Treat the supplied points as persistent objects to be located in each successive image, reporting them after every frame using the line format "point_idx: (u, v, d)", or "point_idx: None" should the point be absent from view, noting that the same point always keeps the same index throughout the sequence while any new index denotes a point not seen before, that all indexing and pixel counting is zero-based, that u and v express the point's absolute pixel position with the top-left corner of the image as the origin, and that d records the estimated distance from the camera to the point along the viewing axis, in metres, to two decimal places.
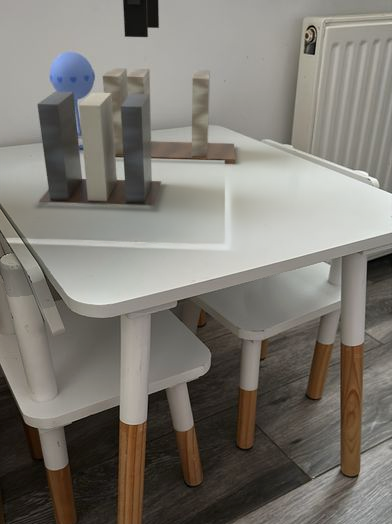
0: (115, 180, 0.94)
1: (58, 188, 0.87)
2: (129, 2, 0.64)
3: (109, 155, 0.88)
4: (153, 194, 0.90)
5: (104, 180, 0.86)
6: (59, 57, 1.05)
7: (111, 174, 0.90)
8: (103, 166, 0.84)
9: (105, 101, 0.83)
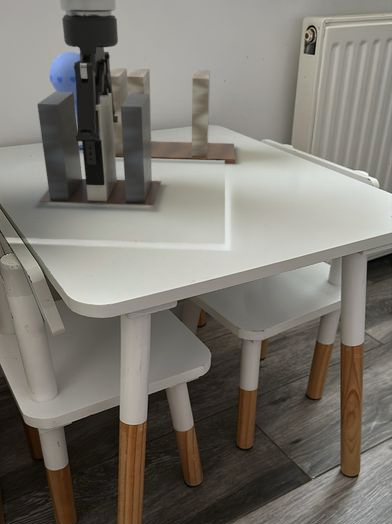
0: (115, 180, 0.94)
1: (58, 188, 0.87)
2: (88, 163, 0.82)
3: (109, 155, 0.88)
4: (153, 194, 0.90)
5: (104, 180, 0.86)
6: (59, 57, 1.05)
7: (111, 174, 0.90)
8: (103, 166, 0.84)
9: (105, 101, 0.83)
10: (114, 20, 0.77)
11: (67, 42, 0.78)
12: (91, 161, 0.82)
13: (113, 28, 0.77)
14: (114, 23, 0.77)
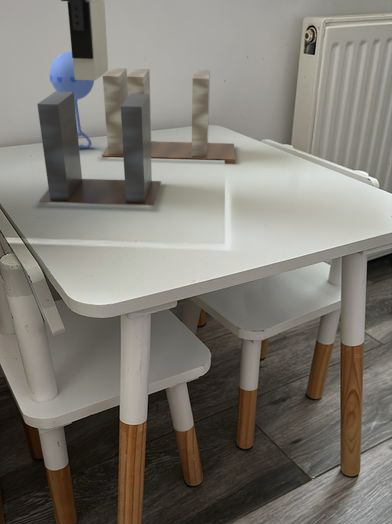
0: (106, 67, 0.84)
1: (58, 188, 0.87)
2: (74, 29, 0.73)
3: (99, 30, 0.78)
4: (153, 194, 0.90)
5: (93, 54, 0.76)
6: (59, 57, 1.05)
7: (101, 55, 0.81)
8: (92, 36, 0.75)
9: None
10: None
11: None
12: (78, 26, 0.72)
13: None
14: None
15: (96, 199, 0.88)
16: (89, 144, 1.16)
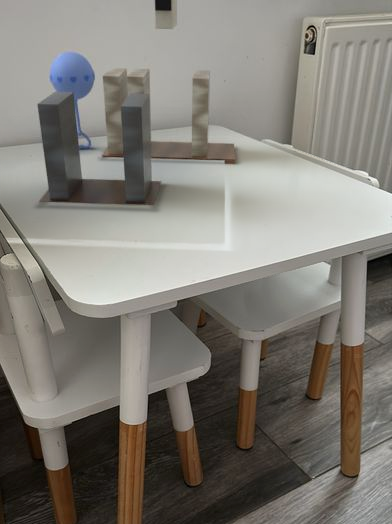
0: (176, 21, 1.03)
1: (58, 188, 0.87)
2: None
3: None
4: (153, 194, 0.90)
5: (171, 6, 0.94)
6: (59, 57, 1.05)
7: None
8: None
9: None
10: None
11: None
12: None
13: None
14: None
15: (96, 199, 0.88)
16: (89, 144, 1.16)
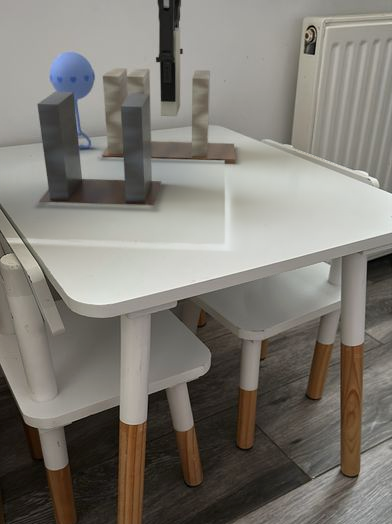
0: (179, 104, 1.12)
1: (58, 188, 0.87)
2: (164, 81, 1.00)
3: (178, 79, 1.06)
4: (153, 194, 0.90)
5: None
6: (59, 57, 1.05)
7: (178, 96, 1.08)
8: (175, 85, 1.02)
9: (178, 31, 1.01)
10: None
11: None
12: (167, 79, 1.00)
13: None
14: None
15: (96, 199, 0.88)
16: (89, 144, 1.16)
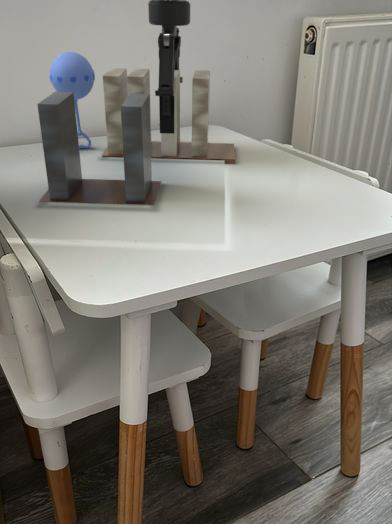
0: (179, 141, 1.16)
1: (58, 188, 0.87)
2: (163, 114, 1.02)
3: (178, 119, 1.10)
4: (153, 194, 0.90)
5: (175, 138, 1.08)
6: (59, 57, 1.05)
7: (178, 135, 1.12)
8: (175, 127, 1.06)
9: (178, 75, 1.06)
10: (189, 4, 0.99)
11: (152, 21, 0.99)
12: (166, 112, 1.02)
13: (188, 10, 0.99)
14: (189, 7, 0.99)
15: (96, 199, 0.88)
16: (89, 144, 1.16)
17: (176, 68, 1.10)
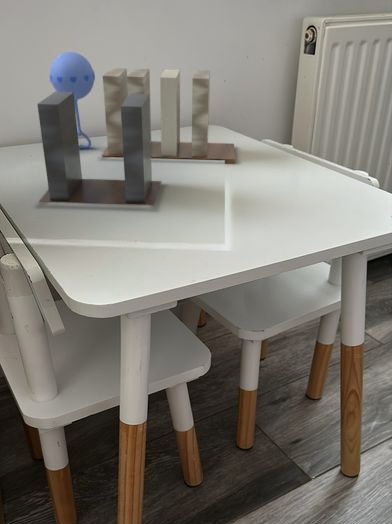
0: (179, 141, 1.16)
1: (58, 188, 0.87)
2: None
3: (178, 119, 1.10)
4: (153, 194, 0.90)
5: (175, 138, 1.08)
6: (59, 57, 1.05)
7: (178, 135, 1.12)
8: (175, 127, 1.06)
9: (178, 75, 1.06)
10: None
11: None
12: None
13: None
14: None
15: (96, 199, 0.88)
16: (89, 144, 1.16)
17: None
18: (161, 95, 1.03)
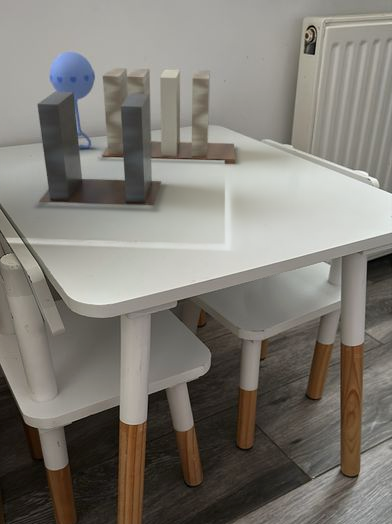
0: (179, 141, 1.16)
1: (58, 188, 0.87)
2: None
3: (178, 119, 1.10)
4: (153, 194, 0.90)
5: (175, 138, 1.08)
6: (59, 57, 1.05)
7: (178, 135, 1.12)
8: (175, 127, 1.06)
9: (178, 75, 1.06)
10: None
11: None
12: None
13: None
14: None
15: (96, 199, 0.88)
16: (89, 144, 1.16)
17: None
18: (161, 95, 1.03)
